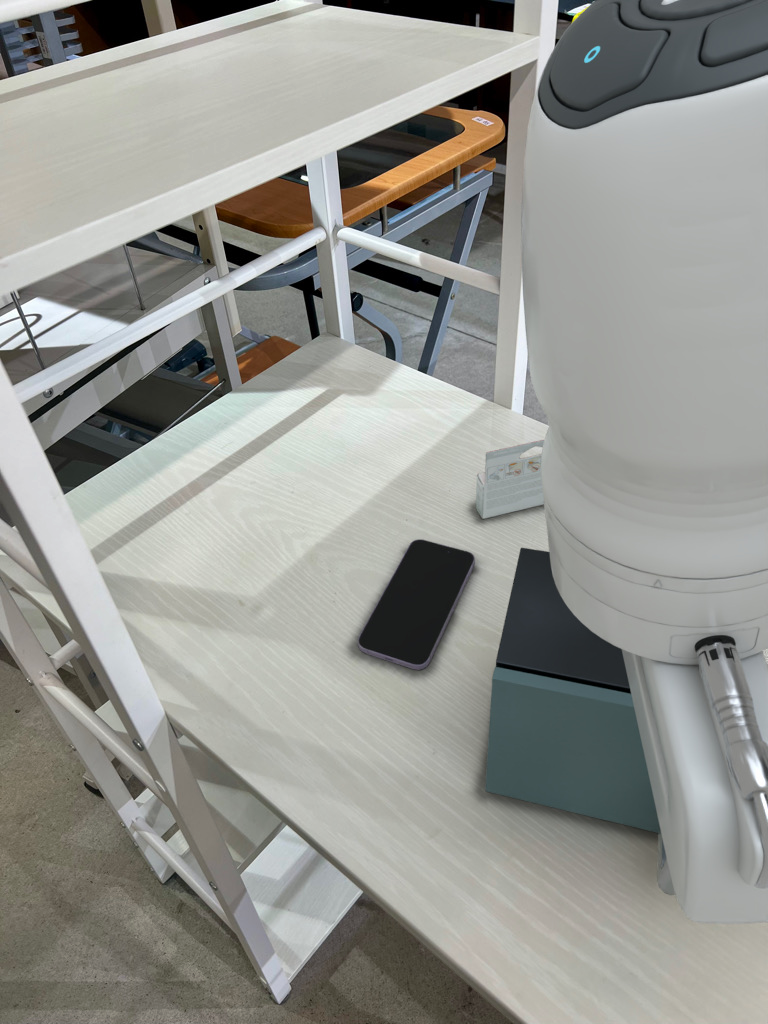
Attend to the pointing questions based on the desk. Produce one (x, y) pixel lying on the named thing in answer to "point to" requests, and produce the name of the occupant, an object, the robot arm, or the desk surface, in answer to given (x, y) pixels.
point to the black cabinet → (553, 633)
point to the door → (571, 752)
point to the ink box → (509, 481)
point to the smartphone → (417, 604)
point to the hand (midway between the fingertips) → (663, 716)
